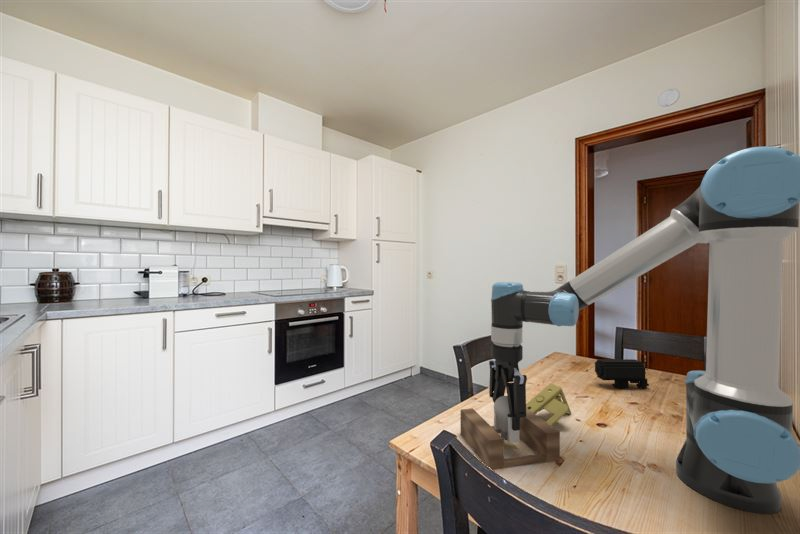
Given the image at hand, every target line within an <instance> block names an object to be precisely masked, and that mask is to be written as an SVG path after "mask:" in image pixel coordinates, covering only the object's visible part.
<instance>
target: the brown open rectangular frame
mask: <svg viewBox="0 0 800 534" xmlns="http://www.w3.org/2000/svg"><path fill="white" fill-rule="evenodd" d="M460 435H461V437H462V438H463V439H464V440H465V442H466V443H467V445H468V446H470V448H471V450H472V451H474V453H475V454H476V455H477V457H478V458H479V459H480V461H481V462H482V463H483V464H484V465H485V464H486V465H487V466H488V467H490V468H491V469H492V470H491V471H493V470H495V471H496V470H501V469H507V468H509V469H510V468H515V467H522V466H523V467H524V466H529V465H537V464H544V463H552V462H558V461H560V460H561V456H560V455H561V445H560V444H561V439H560V438H561V433H560V430H558V429H557V428H555V427H554V426H553V425H552V426H551V425H549V424H548V423H547V422H546V420H544V419H542V418H541V417H539V416H538V415H537V414H534V413H532V412H531V411H530V410H528V409H527V408H526V417H520V430H519V440H520V441H522V443H524V444H525V445H526V446H528V448H530V449H531V450H532V451H533V452H534V453H536V454H531V455H530V454H529V455H523V456H521V455H520V456H515V457H514V456H513V457H509V458H505V456H504V455H505V451H504V450H505V448H507V449H511V450H517V451H521V449H520V448H519V447H518V446H517V445H516V444H515V443H509V442H508V440H507V441H506V440H504V438H502V437H501V429H498V430H495V429H494V425H490V424H489V422H487V420H485V419H484V418H483V417H482V416H481V415H480V414H479V413H478V412H477V411H476V410H475V409H474V408H473V407H472V408H462V409H460ZM486 465H485V466H486ZM487 466H486V467H487Z"/></svg>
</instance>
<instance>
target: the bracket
mask: <svg viewBox="0 0 800 534" xmlns="http://www.w3.org/2000/svg"><path fill="white" fill-rule="evenodd" d="M526 408H527V409H528V410H530V411H531V412H532V413H534V414H535V415H537V413H538V412H542V411H543V410H545V411H547V412H548V413H550V414H551V415H552V416H551V417H550V418H549V419H547V420H545V422H547V423H548V424H549V425H551V426H552V427H553V425H555V423H557V422H558V421H559V420H560V419H562V417H563V416H565V415H566V414H568V415H572V411H571V408H570V406H569V404H568V401H567V399H566V396H565V393H564V391H563V388H561V386H559V385H555V383H548V385H547V386H545V388H543V389H542V390H540V392H538V393H537V394H536V395H535V396H534V397H532V398H531V399H530V400H529V401H528V402H526Z"/></svg>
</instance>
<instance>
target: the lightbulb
mask: <svg viewBox="0 0 800 534" xmlns="http://www.w3.org/2000/svg"><path fill="white" fill-rule="evenodd" d="M494 411H495V414H496V416H497V418H498V420H499V424H500V429H501V433H500V436H501V437H502V438H504V441H507V440H508V415H507V414H510V410H509V403H508V396H507V395H504V396H501V397H499V398H498V399H497V400H496V401H495V403H494V402H493V412H494Z"/></svg>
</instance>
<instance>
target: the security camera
mask: <svg viewBox="0 0 800 534" xmlns="http://www.w3.org/2000/svg"><path fill="white" fill-rule="evenodd" d="M594 372H595V375H596V376H597V378H599V380H601V381H614V383H612V387H614V388H616V389H629V386H630V385H629V383H631V384H636V387H638V388H640V389H647V388H648V387H650V384H649V383H648V379H647V378H646V367H645V365H644V363H643V362H642V361H640V360H637V359H633V358H632V359H628V358H625V359H623V358H621V359H619V358H618V359H617V358H616V359H615V358H613V359H611V358H605V359H604V358H602V359H601V358H598V359H597V360H595V361H594Z"/></svg>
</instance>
